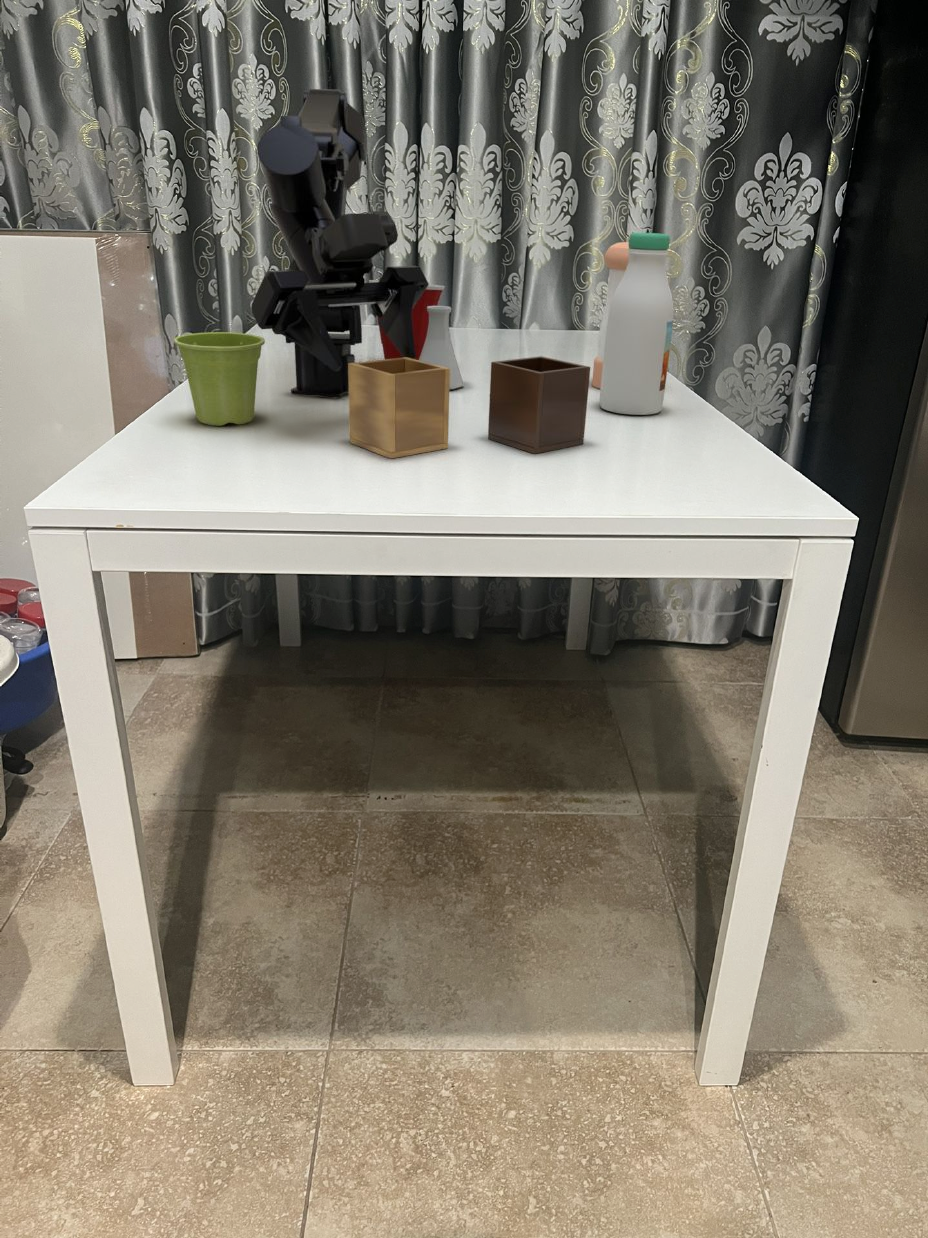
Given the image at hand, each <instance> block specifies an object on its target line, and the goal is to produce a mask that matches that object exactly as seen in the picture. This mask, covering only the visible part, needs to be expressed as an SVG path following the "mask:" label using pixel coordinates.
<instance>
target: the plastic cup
mask: <svg viewBox="0 0 928 1238" xmlns="http://www.w3.org/2000/svg"><path fill="white" fill-rule="evenodd" d="M379 280H380V279H369V280H368V283H374V282H379ZM445 287H446V286H445V285H441V284H433V283H432V284H431V283H429V285H428V287H427V288H426V290H425V291H424V293H423V294H422V296H421V297H420V299H419V300H418V302H417V303H416V305H415V306H414V308H413V309H412V325H413V334H414V343H415V352H416V357H415V360H419V358H420V355H421V352H422V349H423V346H424V343H425V340H426V336H427V331H428V325H429V313H428V311H427V307H428V306H439V301H440V298H441V295H442V293H443V291H444V290H445ZM376 317H377V323H378V322H379V320H380V319H381V318H380V317H378V316H377V315H376ZM378 329H379V330H378V331H379V336H380V344H381V345H382V353H383V357H384V359H383V360H385V359H394V358H403V356H402V355H401V354H400V352H399V351H398V350H397V348H396V347H395V346H394V344H393V343H392V342H391V340H390V339H389V338H388V336H387V335H386V334H385V332H384V331H383V330H382V328H381V327H380V326H379V325H378Z"/></svg>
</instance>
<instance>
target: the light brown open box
mask: <svg viewBox="0 0 928 1238" xmlns="http://www.w3.org/2000/svg"><path fill="white" fill-rule="evenodd" d="M348 380H349V393H348V420H349V423H348V424H349V443H350V444H352V445H355V446H358V447H360V448H362V449H364V450H368V451H371V452H373V453H375V454H378V455H381V456H383V457H385V458H387V459H396V458H402V457H407V456H412V455H413V456H414V455H417V454H423V453H429V452H434V451H440V450H445V449H448V448H449V427H450V425H449V421H450V420H449V419H450V418H449V417H450V389H449V386H450V368H447V367H443V366H439V365H435V364H431V363H427V362H423V361H419V360H415V359H411V358H407V357H403V358H394V359H374V360H368V361H358V362H356V361H355V363H348Z"/></svg>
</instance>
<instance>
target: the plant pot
mask: <svg viewBox="0 0 928 1238" xmlns="http://www.w3.org/2000/svg"><path fill="white" fill-rule="evenodd" d="M173 342H174V345H176V346H177V347H178V351H179V355H180V358H181V359H182V360H183V363H184V368H185V372H186V377H187V381H188V385H189V390H190V394H191V399H192V403H193V408H194V412H195V417H196V419H197V421H198V422H199V423H202V424H204V425H212V426H216V427H217V426H219V427H220V426H225V425H226V424H234V425H245V424H247V423H250V422H252V421H253V420H254V418H255V405H256V393H257V392H256V391H257V379H258V378H257V377H258V368H259V367H258V366H259V360H260V358H261V355H262V346H264V345H265V344H266V340H265V338H264V337H262V336H259V335H255V334H250V333H244V332H231V331H230V332H227V331H220V332H219V331H218V332H217V331H216V332H215V331H214V332H209V331H208V332H197V333H188V334H182V335H179V336H176V337H175V338H173Z"/></svg>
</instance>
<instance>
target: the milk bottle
mask: <svg viewBox="0 0 928 1238" xmlns="http://www.w3.org/2000/svg"><path fill="white" fill-rule="evenodd" d="M628 237H629V244H628V246H629V250H628V253H629V262H628V265H627V268H626V271H625V273H624V276H623V278H622V280H621V282H620V283H619V285H618V287H617V289H616V291H615V293H614V295H613V298H612V301H611V304H610V309H609V315H608V322H607V330H606V340H605V349H604V359H603V369H602V379H601V389H600V388H599V389H600V391H599V405H600V408H601V409H603V410H604V411H608V412H611V413H616V414H623V415H633V416H634V415H636V416H639V415H640V416H644V415H653V414H658V413H659V412H661V410H662V409H663V405H664V397H665V390H666V383H667V375H668V368H669V361H670V360H669V359H670V352H671V351H670V350H671V344H672V334H673V324H674V299H673V295H672V291H671V287H670V284H669V281H668V280H669V279H668V275H667V270H666V257H667V256H668V255H669V248H670V243H671V236H670V235H669V234H666V233H655V232H631V233H630V234H629V236H628Z"/></svg>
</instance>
